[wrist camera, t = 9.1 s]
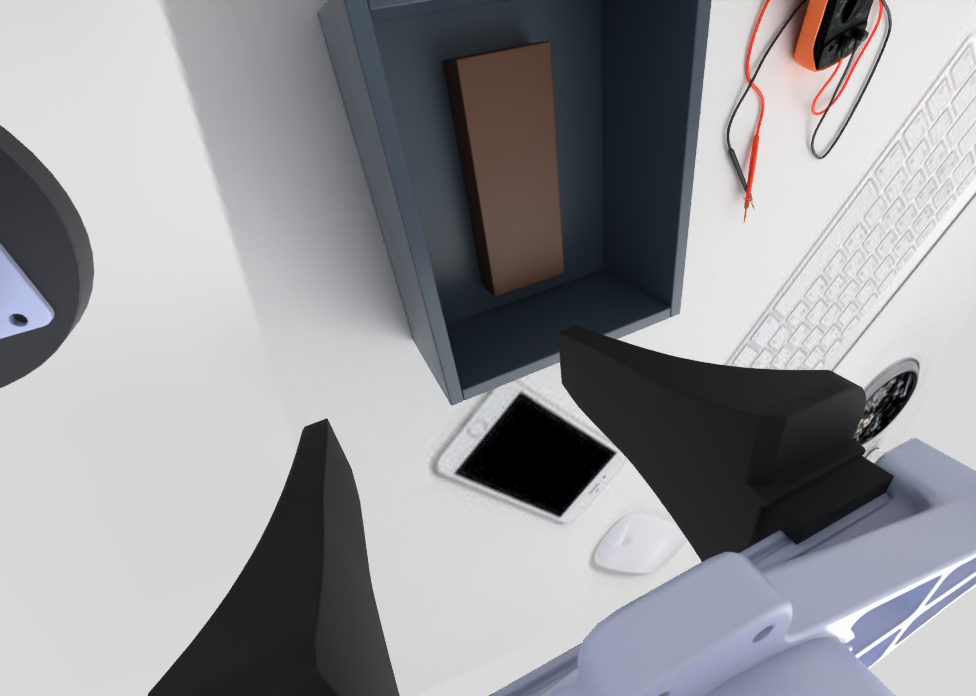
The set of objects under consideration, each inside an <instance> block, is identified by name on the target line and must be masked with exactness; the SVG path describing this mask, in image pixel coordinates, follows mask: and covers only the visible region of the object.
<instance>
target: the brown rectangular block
mask: <svg viewBox="0 0 976 696" xmlns="http://www.w3.org/2000/svg"><path fill="white" fill-rule="evenodd" d="M443 65H444V71H445V77H446V82H447V88H448V94H449V99H450V105H451V111H452V116H453V122H454V127H455V133H456V139H457V144H458V150H459V156H460V161H461V167H462V173H463V178H464V184H465V189H466V195H467V201H468V206H469V212H470V218H471V223H472V229H473V235H474V240H475V246H476V252H477V257H478V263H479V268H480V274H481V280H482V285H483V286H484V287H485V288H486V289H487V290H488V291H489V292H490V293H491V294H492V295H493V296H494V297H497V296H500V295H502V294H505V293H508V292H511V291H514V290H517V289H520V288H523V287H525V286H528V285H531V284H534V283H537V282H540V281H543V280H546V279H548V278H551V277H554V276H557V275H560V274H563V273H564V257H563V241H562V225H561V209H560V193H559V177H558V161H557V145H556V129H555V112H554V96H553V80H552V64H551V48H550V41H543V42H535V43H529V44H523V45H518V46H513V47H508V48H503V49H498V50H493V51H488V52H482V53H477V54H472V55H467V56H462V57H457V58H452V59H447V60H444V61H443Z"/></svg>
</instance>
